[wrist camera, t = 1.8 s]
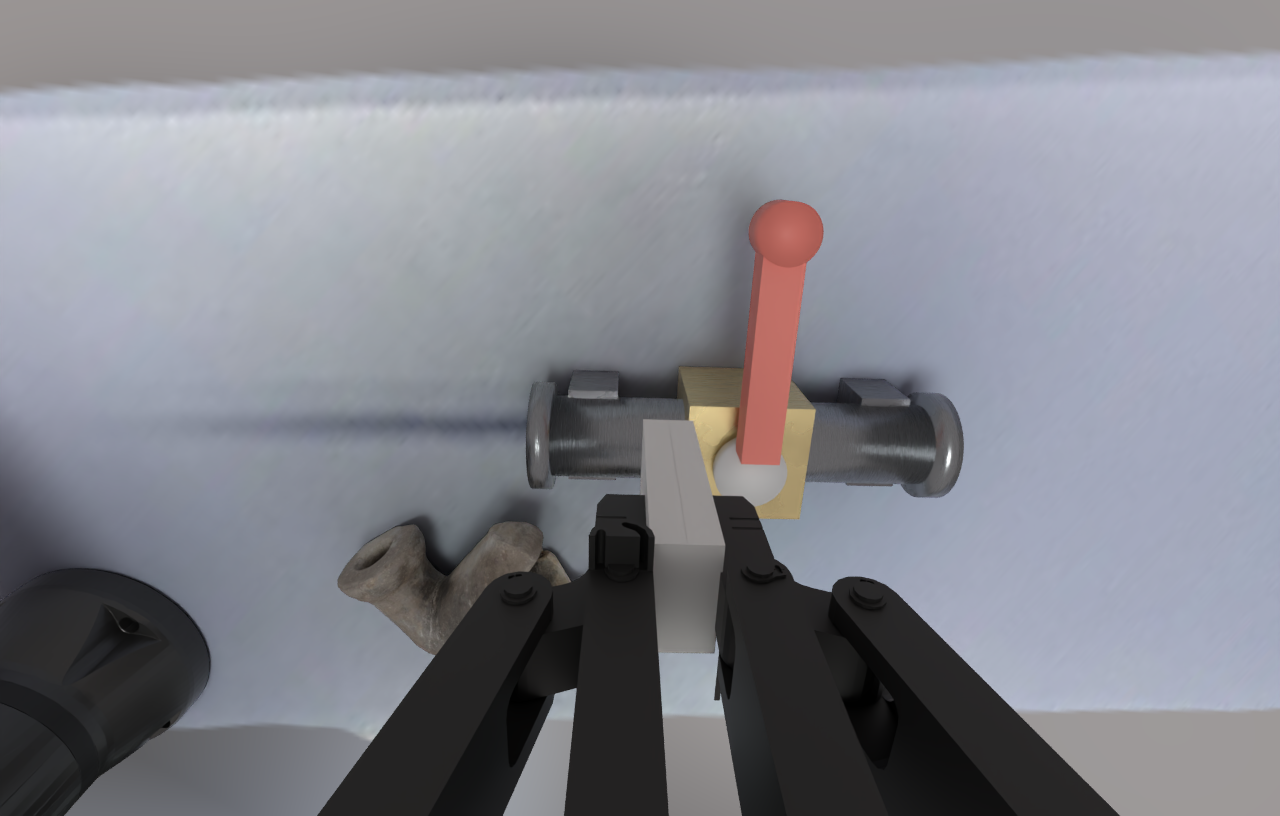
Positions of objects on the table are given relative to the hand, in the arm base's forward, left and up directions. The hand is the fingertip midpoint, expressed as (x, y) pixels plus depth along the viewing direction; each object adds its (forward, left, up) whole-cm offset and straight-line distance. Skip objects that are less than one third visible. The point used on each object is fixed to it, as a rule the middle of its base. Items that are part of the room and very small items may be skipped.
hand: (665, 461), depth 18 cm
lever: (+6, -1, -14) cm, 15 cm away
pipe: (-10, -20, -22) cm, 31 cm away
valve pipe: (+6, -7, -22) cm, 24 cm away
